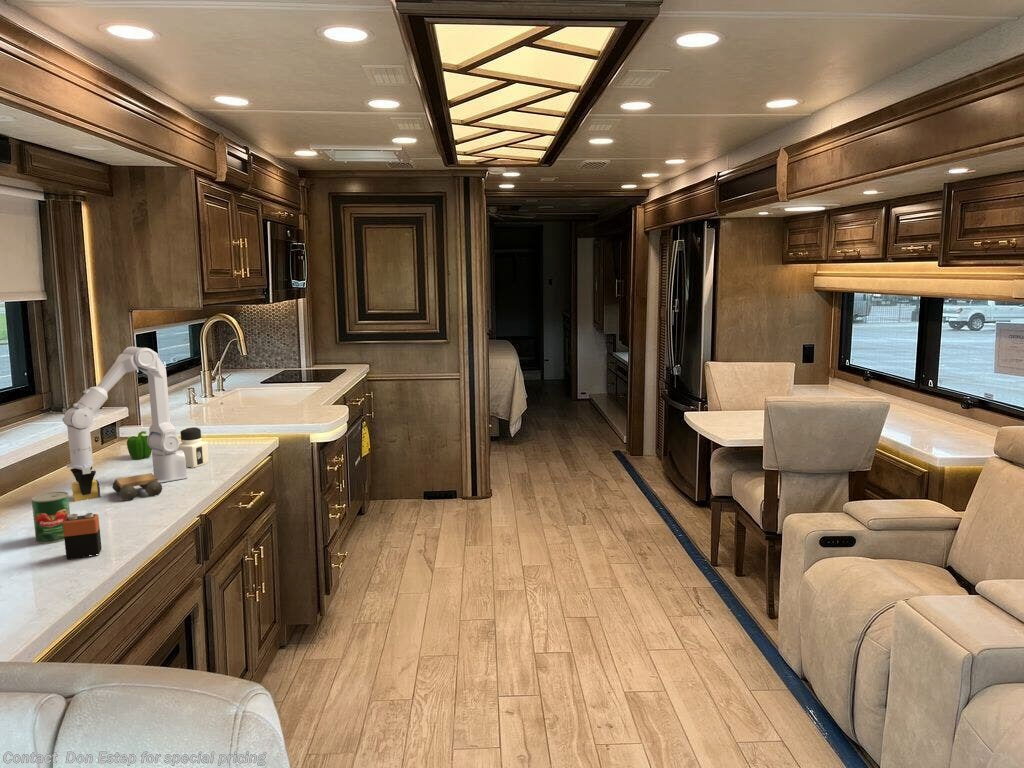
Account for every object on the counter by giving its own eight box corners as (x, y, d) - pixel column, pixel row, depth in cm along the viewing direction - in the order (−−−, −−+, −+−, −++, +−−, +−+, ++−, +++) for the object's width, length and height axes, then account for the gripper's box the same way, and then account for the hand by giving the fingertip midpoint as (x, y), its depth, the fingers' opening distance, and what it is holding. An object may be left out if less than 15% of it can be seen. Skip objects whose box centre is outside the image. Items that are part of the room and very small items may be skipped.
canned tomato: (45, 545, 180) (40, 502, 178) (29, 540, 184) (24, 497, 182) (78, 536, 186) (74, 494, 185) (62, 530, 190) (58, 489, 189)
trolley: (153, 486, 230) (152, 471, 229) (162, 494, 221) (161, 479, 220) (113, 493, 223) (111, 478, 222) (120, 502, 214) (119, 486, 213)
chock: (98, 494, 222) (96, 478, 222) (100, 497, 219) (98, 481, 219) (73, 498, 218) (71, 482, 218) (75, 501, 215) (73, 485, 215)
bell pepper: (122, 460, 264) (120, 433, 263) (140, 454, 272) (137, 428, 270) (141, 461, 262) (138, 434, 260) (158, 456, 269) (156, 429, 268)
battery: (69, 553, 174) (65, 513, 173) (102, 549, 177) (98, 509, 175) (66, 560, 170) (61, 518, 169) (99, 555, 173) (95, 515, 171)
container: (209, 462, 259) (207, 426, 257) (193, 468, 251) (191, 431, 249) (192, 461, 261) (189, 425, 259) (176, 466, 254) (173, 430, 252)
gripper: (61, 446, 220) (66, 489, 222) (68, 454, 208) (73, 500, 210) (88, 442, 224) (92, 485, 226) (96, 451, 213) (101, 496, 215)
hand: (85, 492), depth 218 cm, fingers closed on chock, 4 cm apart
